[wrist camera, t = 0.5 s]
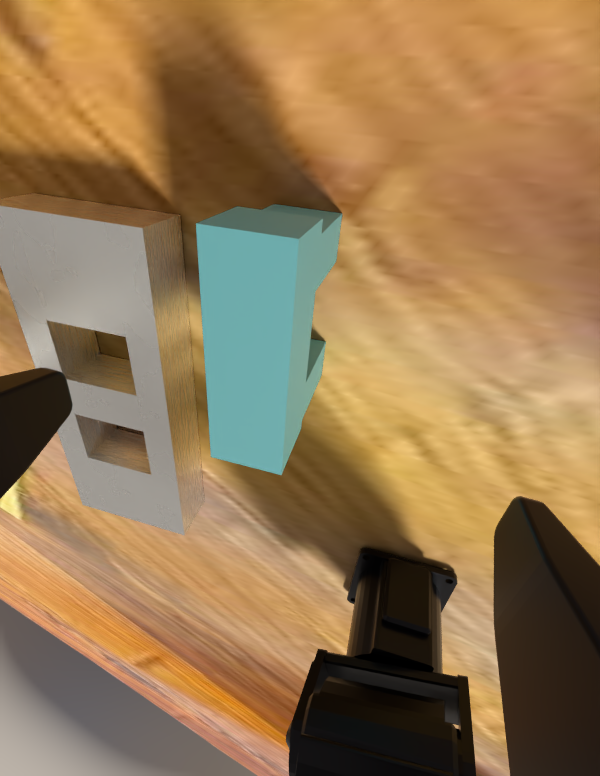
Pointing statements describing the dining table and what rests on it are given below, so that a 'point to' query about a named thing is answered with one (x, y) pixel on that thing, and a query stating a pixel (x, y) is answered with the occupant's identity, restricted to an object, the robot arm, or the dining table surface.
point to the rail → (103, 372)
